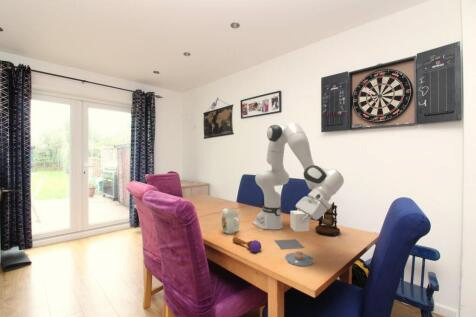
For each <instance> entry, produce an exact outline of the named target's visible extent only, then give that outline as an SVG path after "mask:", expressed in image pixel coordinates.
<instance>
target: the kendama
mask: <svg viewBox="0 0 476 317" xmlns="http://www.w3.org/2000/svg"><path fill="white" fill-rule="evenodd" d="M232 242H233V244H240V245H241V244H242V245H246V247H248V249H249V250H250V251H251V252H253V253H258V252H260V251H261V249H262V243H261V242H260V241H259V240H256V239H254V240H250V241H245V240H243V239H241V238H239V237H237V236H233V237H232Z"/></svg>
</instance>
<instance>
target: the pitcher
mask: <svg viewBox="0 0 476 317" xmlns="http://www.w3.org/2000/svg"><path fill="white" fill-rule="evenodd" d="M221 213H222V217H221V226H222V230H223V231H224V233H225V234H228V235H232V234H235V233H236V232H237V231H238V230H239V229H240V219H239V216H238V215H239V211H238V210H236V209H230V208H223V209H222V211H221Z"/></svg>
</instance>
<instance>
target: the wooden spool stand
mask: <svg viewBox="0 0 476 317" xmlns="http://www.w3.org/2000/svg"><path fill="white" fill-rule="evenodd" d="M329 204H330V205H331V207H330V208H329V209H327V211H326V212H325V213H324V214H323V215H322V216H321V217H320V218H319V219H317V220H318V224H317V225H316V226H315V228H314V230H315V231H316V233H317V234H319V233H320V234H324V235H332V236H333V237H335V235H339V234H340V233H341V229H340V228H338V226H337V224H338V223H337V222H338V221H337V219H338V218H337V217H338V210H337V208H338V205H337V204H336V205H335V202H334V201H333V202H332V203H329Z"/></svg>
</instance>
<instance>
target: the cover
mask: <svg viewBox="0 0 476 317" xmlns="http://www.w3.org/2000/svg"><path fill="white" fill-rule="evenodd" d="M289 212H290V214H289V216H290V218H289V220H290V221H289V222H290V228H291V229H292V230H293V231H294V232H309V231H310V219H309V220H308V221H306V222H305V223H304V224H303V223H302V222H301V221H300V220H301V219H302V218H304V217H305V216H306V214H307V213H306V212H304V211H302V210H300V211H297V210H290V211H289Z"/></svg>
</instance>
